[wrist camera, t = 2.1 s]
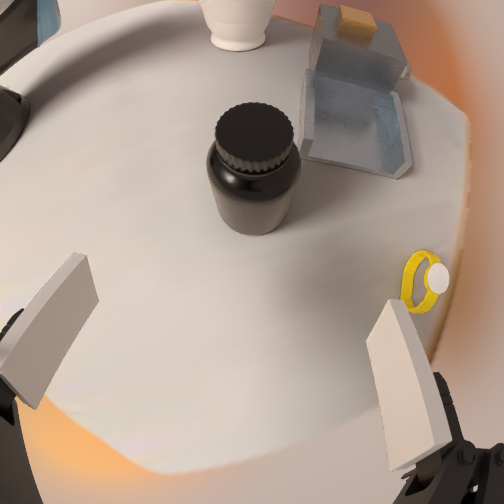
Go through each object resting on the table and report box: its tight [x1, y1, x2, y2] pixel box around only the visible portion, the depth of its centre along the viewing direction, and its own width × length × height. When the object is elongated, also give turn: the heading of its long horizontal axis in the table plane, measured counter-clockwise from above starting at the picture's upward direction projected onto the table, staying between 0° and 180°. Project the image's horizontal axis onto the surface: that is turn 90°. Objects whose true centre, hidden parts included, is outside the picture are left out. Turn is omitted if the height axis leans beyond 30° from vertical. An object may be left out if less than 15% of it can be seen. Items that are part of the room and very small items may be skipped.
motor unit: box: [298, 5, 413, 179], centre depth 25 cm, size 14×21×11 cm, turn 172°
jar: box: [199, 0, 276, 51], centre depth 26 cm, size 11×10×15 cm
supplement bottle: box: [206, 102, 301, 235], centre depth 21 cm, size 7×7×12 cm
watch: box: [400, 250, 449, 314], centre depth 23 cm, size 6×3×6 cm, turn 167°
